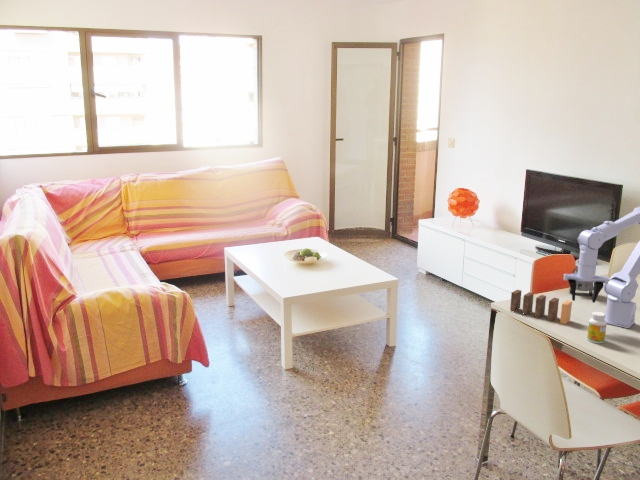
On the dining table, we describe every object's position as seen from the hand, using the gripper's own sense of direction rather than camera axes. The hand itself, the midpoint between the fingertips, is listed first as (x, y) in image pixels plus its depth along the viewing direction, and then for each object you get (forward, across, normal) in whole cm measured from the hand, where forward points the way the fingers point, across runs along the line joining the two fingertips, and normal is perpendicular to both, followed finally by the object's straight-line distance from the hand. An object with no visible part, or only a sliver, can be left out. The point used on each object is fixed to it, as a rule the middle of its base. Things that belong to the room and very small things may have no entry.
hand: (583, 300), depth 215 cm
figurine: (+10, -5, -38) cm, 39 cm away
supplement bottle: (+10, -3, +14) cm, 17 cm away
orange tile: (+9, +5, -2) cm, 11 cm away
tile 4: (+9, +18, -8) cm, 22 cm away
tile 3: (+9, +14, -6) cm, 18 cm away
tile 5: (+9, +22, -10) cm, 26 cm away
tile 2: (+9, +9, -4) cm, 14 cm away
